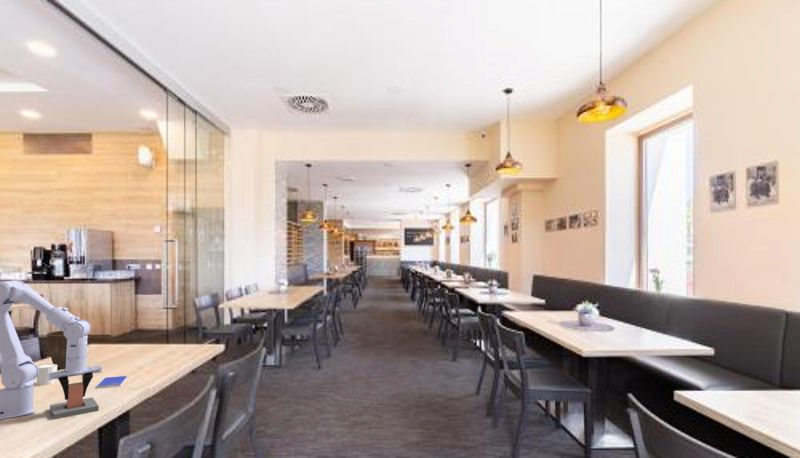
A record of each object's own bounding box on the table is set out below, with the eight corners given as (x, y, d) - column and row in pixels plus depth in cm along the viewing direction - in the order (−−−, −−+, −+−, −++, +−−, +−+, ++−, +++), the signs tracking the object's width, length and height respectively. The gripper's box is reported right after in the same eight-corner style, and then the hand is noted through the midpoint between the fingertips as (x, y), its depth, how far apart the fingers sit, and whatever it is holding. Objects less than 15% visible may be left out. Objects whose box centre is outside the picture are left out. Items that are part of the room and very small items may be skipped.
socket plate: (53, 419, 142) (53, 414, 142) (49, 409, 151) (50, 404, 151) (98, 410, 150) (98, 405, 150) (92, 401, 159) (92, 397, 159)
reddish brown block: (67, 408, 148) (68, 386, 148) (66, 405, 151) (67, 384, 151) (82, 405, 151) (83, 384, 151) (80, 402, 154) (81, 382, 154)
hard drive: (120, 383, 178) (127, 375, 189) (96, 385, 175) (104, 377, 186) (120, 387, 177) (127, 379, 189) (96, 389, 175) (104, 381, 186)
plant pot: (89, 362, 215) (91, 329, 216) (78, 370, 201) (80, 334, 202) (52, 364, 211) (54, 330, 211) (38, 372, 196) (40, 336, 197)
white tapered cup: (55, 379, 186) (56, 362, 186) (58, 383, 181) (58, 365, 181) (34, 383, 181) (35, 365, 181) (36, 386, 176) (37, 368, 176)
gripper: (50, 362, 144) (48, 405, 143) (104, 355, 153) (102, 395, 153) (48, 358, 149) (46, 400, 148) (100, 352, 159) (98, 391, 158)
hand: (74, 397), depth 151 cm, fingers closed on reddish brown block, 4 cm apart
